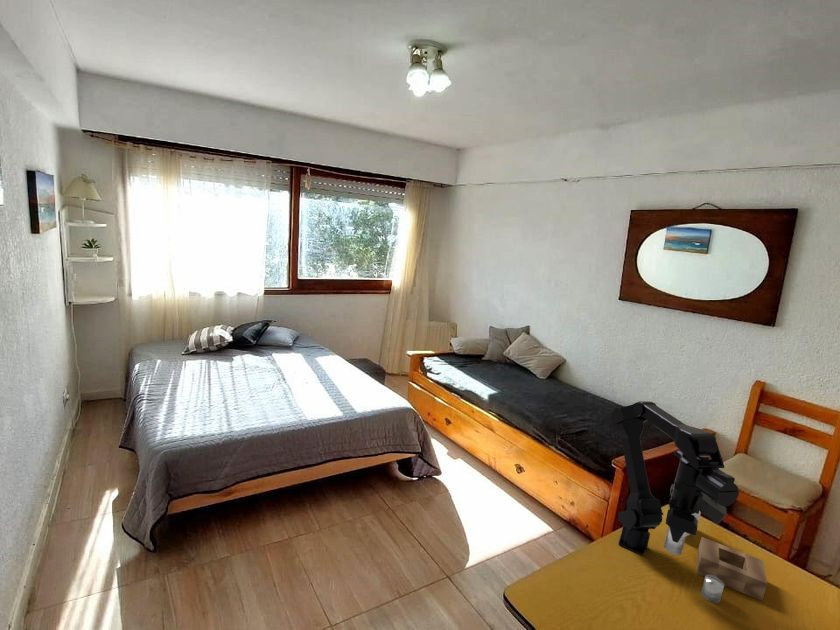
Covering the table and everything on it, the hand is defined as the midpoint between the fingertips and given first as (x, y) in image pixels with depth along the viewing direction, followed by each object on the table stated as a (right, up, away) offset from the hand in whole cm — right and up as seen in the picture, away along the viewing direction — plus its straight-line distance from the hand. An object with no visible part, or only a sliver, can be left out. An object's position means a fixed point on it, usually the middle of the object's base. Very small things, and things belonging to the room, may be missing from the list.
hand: (675, 537), depth 113 cm
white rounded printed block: (+15, -10, +23) cm, 29 cm away
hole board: (+17, -13, +6) cm, 23 cm away
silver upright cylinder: (0, -3, +1) cm, 3 cm away
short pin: (+8, -14, -2) cm, 16 cm away
